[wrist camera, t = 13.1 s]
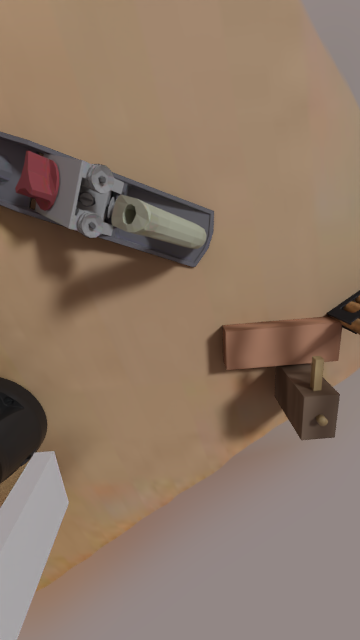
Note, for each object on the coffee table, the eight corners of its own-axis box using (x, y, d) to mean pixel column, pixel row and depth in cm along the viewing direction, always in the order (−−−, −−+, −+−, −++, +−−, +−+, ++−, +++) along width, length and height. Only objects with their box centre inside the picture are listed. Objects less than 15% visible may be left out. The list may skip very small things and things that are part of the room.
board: (223, 361, 39) (226, 370, 37) (222, 325, 38) (225, 331, 35) (328, 352, 39) (338, 360, 37) (331, 316, 38) (342, 322, 35)
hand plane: (200, 268, 36) (218, 295, 21) (-53, 184, 32) (-236, 149, 18) (219, 213, 33) (254, 202, 19) (-49, 116, 30) (-251, 13, 15)
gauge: (274, 396, 42) (304, 445, 32) (276, 335, 38) (310, 369, 29) (301, 394, 41) (338, 442, 32) (305, 332, 38) (348, 365, 29)
